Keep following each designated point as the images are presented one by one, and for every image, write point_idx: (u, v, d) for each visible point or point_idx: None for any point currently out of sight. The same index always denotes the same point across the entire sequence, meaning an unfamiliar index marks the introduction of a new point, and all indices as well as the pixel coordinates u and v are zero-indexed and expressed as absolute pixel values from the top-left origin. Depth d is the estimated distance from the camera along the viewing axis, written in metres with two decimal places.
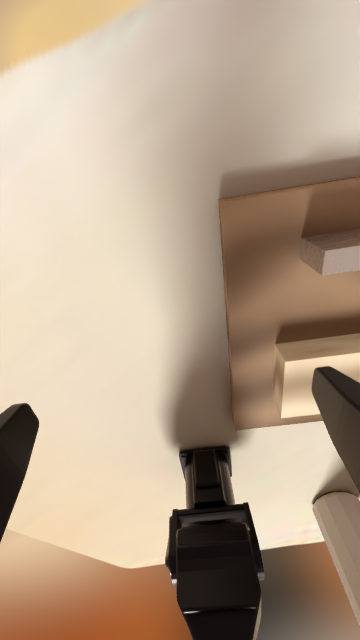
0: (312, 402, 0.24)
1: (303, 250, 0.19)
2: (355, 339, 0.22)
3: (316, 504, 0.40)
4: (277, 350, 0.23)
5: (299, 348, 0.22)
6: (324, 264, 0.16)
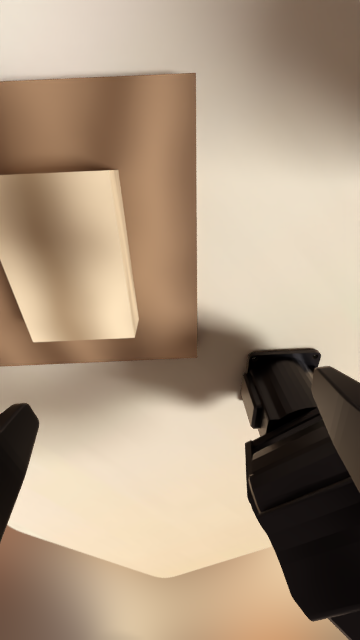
0: (101, 303, 0.16)
1: None
2: None
3: None
4: None
5: None
6: None
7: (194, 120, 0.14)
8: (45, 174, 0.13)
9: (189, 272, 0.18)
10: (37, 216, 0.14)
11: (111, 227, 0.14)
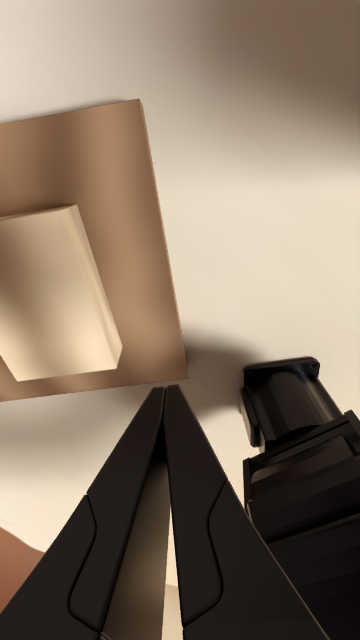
0: (77, 338, 0.16)
1: None
2: None
3: None
4: None
5: None
6: None
7: (146, 146, 0.13)
8: None
9: (166, 296, 0.18)
10: None
11: (73, 265, 0.14)
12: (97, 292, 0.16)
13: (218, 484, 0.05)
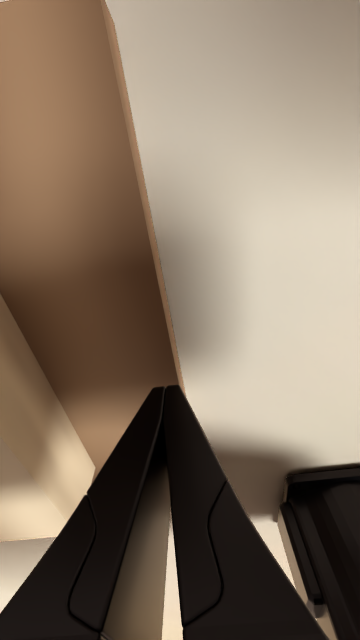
0: None
1: None
2: None
3: None
4: None
5: None
6: None
7: (120, 117, 0.05)
8: None
9: None
10: None
11: None
12: (33, 415, 0.08)
13: (218, 484, 0.05)
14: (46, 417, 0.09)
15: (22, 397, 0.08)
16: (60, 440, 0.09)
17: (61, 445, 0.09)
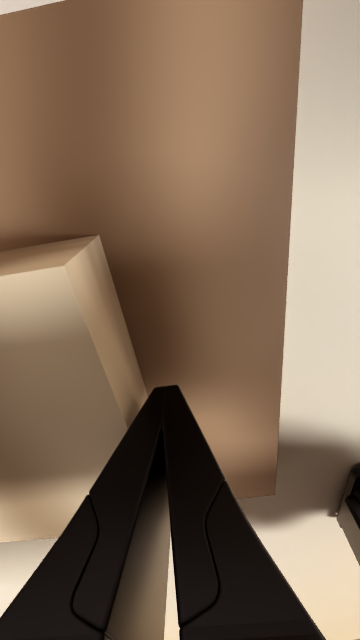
0: None
1: None
2: None
3: None
4: None
5: None
6: None
7: (294, 90, 0.05)
8: None
9: (267, 389, 0.10)
10: None
11: (94, 380, 0.06)
12: (137, 404, 0.08)
13: (216, 484, 0.05)
14: None
15: (131, 385, 0.08)
16: None
17: None
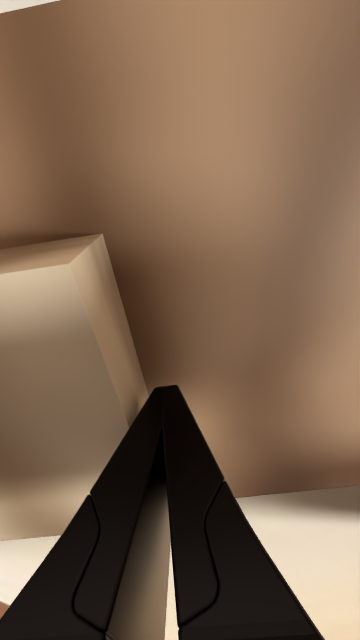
0: None
1: None
2: None
3: None
4: None
5: None
6: None
7: None
8: None
9: None
10: None
11: (96, 379, 0.06)
12: (138, 403, 0.08)
13: (215, 484, 0.05)
14: None
15: (132, 384, 0.08)
16: None
17: None
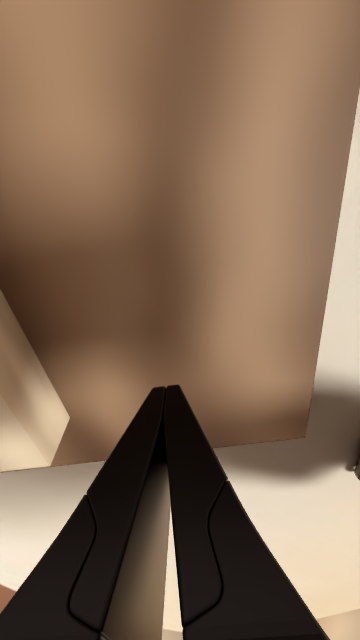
0: None
1: None
2: None
3: None
4: None
5: None
6: None
7: None
8: None
9: (310, 324, 0.11)
10: None
11: None
12: (7, 354, 0.10)
13: (218, 484, 0.05)
14: (20, 360, 0.10)
15: None
16: (34, 383, 0.11)
17: (35, 387, 0.11)
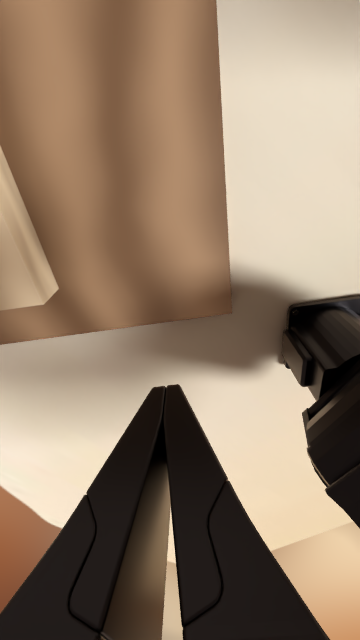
0: None
1: None
2: None
3: None
4: None
5: None
6: None
7: (214, 5, 0.12)
8: None
9: (218, 207, 0.16)
10: None
11: None
12: (16, 216, 0.15)
13: (218, 484, 0.05)
14: (24, 225, 0.16)
15: (10, 201, 0.15)
16: (33, 246, 0.16)
17: (34, 249, 0.16)
